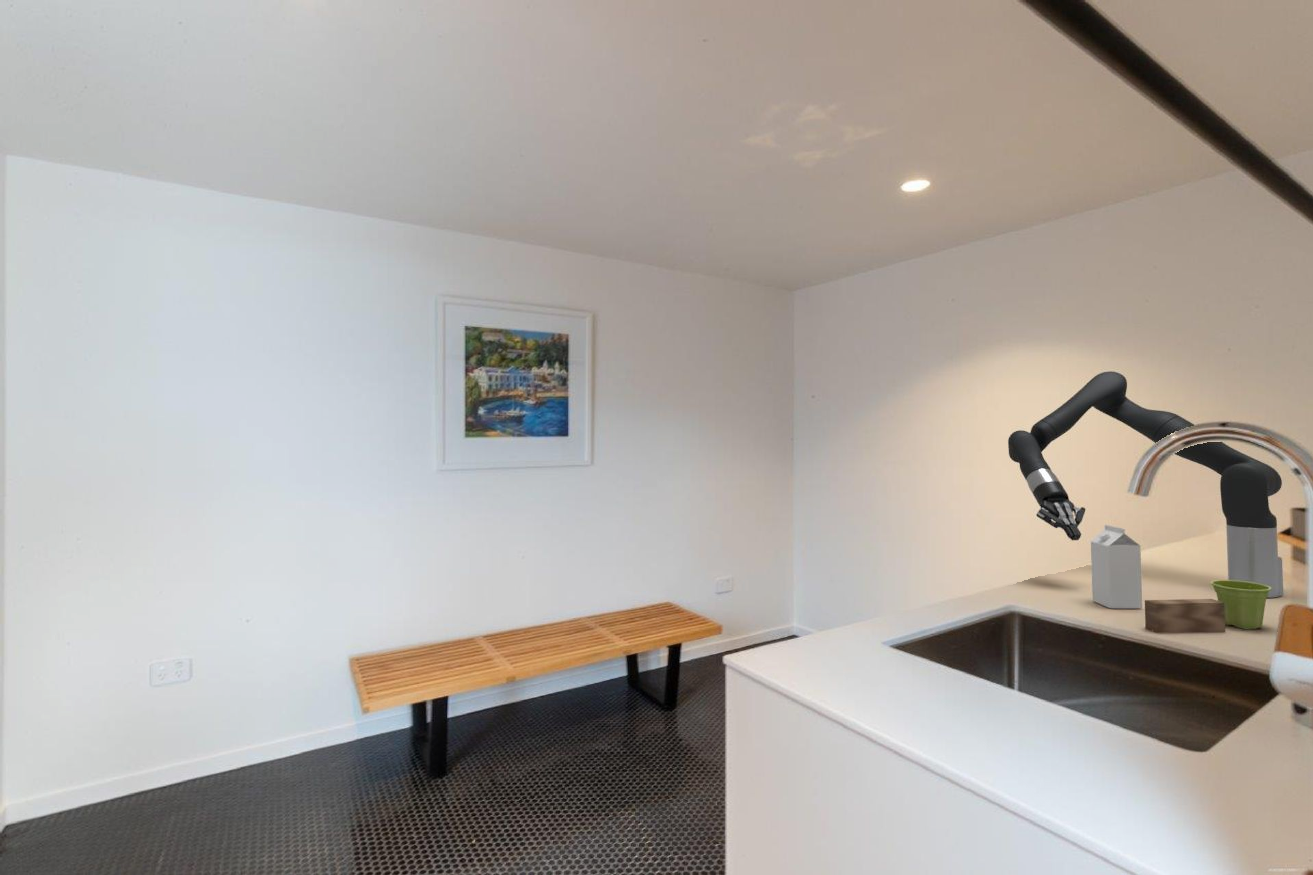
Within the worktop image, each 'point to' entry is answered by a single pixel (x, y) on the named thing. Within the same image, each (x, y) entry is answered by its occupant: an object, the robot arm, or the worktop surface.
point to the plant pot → (1242, 602)
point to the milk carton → (1116, 569)
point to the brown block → (1185, 615)
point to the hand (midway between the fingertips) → (1076, 538)
